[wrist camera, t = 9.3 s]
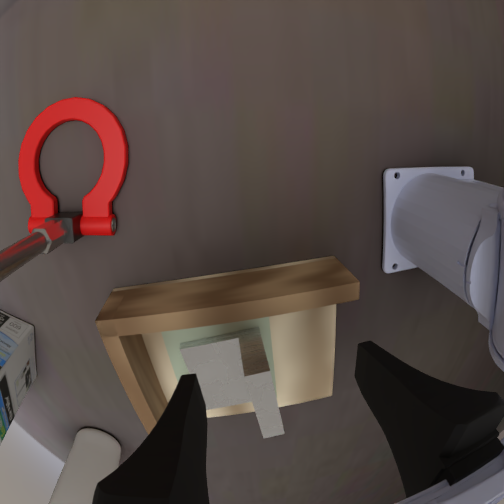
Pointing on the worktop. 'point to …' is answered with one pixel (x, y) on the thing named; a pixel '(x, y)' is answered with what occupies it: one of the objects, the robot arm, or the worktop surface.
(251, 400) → the bracket
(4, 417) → the light bulb box
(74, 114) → the tow hook
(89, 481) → the drinking glass
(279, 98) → the worktop surface
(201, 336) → the board
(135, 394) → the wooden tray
